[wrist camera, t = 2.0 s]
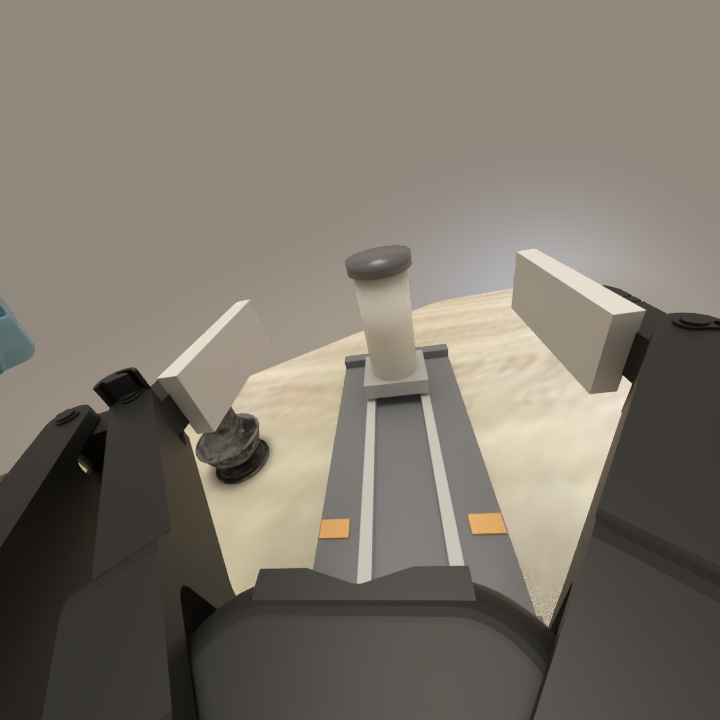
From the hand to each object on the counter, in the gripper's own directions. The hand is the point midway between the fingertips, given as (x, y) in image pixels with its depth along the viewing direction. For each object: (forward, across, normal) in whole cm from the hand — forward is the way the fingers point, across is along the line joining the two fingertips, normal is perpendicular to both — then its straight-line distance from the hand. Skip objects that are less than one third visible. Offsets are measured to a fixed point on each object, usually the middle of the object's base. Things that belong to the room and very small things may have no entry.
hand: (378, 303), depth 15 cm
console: (+3, 0, -16) cm, 16 cm away
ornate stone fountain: (+4, -16, -16) cm, 23 cm away
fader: (+10, 0, -13) cm, 16 cm away
